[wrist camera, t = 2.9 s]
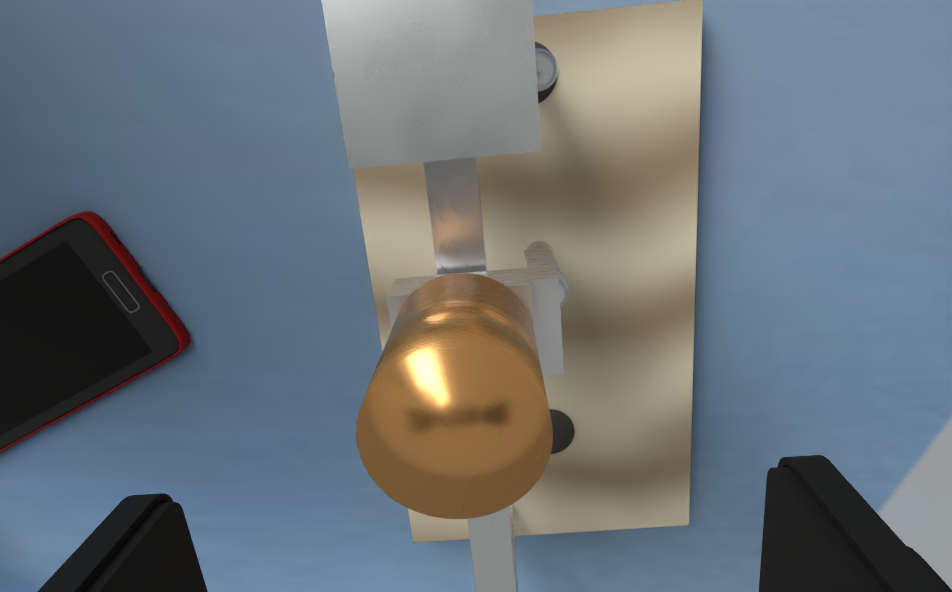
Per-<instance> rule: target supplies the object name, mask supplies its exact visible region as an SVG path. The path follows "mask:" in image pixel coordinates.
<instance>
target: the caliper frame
mask: <svg viewBox="0 0 952 592" xmlns="http://www.w3.org/2000/svg"><path fill="white" fill-rule="evenodd" d="M321 1H322V7H323V13H324V19H325V25H326V32H327V38H328V44H329V50H330V56H331V62H332V68H333V74H334V80H335V87H336V93H337V99H338V105H339V111H340V117H341V123H342V129H343V135H344V142H345V148H346V154H347V160H348V166H349V169H356V168H367V167H377V166H388V165H398V164H408V163H419V162H423V163H424V172H425V180H426V188H427V196H428V204H429V212H430V221H431V229H432V237H433V245H434V253H435V261H436V269H437V275H445V274H453V273H468V272H480V271H487V262H486V252H485V241H484V230H483V220H482V209H481V198H480V187H479V177H478V166H477V157H481V156H492V155H502V154H513V153H523V152H534V151H541V141H540V124H539V107H538V91H543V90H545V89H547V88H549V87H550V86H551V85H552V84H553V83H554V81H555V80H556V77H557V74H558V64H557V61H556V59H555V57H554V56H553V55H552V53H550V52H549V51H547V50H545V49H541V48H536V49H535V38H534V21H533V4H532V0H321ZM467 522H468V530H469V539H470V547H471V555H472V563H473V571H474V579H475V588H476V592H518V582H517V565H516V549H515V532H514V517H513V506H512V505H510V506H508V507H506V508H504V509H502V510H500V511H498V512H495V513H492V514H489V515H486V516H481V517H477V518H470V519H467Z"/></svg>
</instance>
